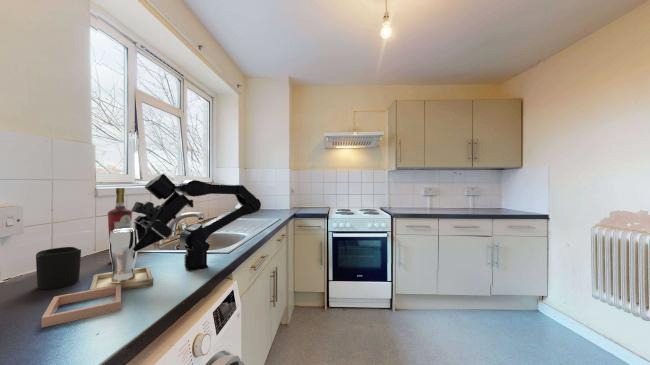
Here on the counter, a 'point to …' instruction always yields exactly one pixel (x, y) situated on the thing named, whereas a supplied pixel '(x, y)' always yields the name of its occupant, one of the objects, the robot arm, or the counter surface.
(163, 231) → the robot arm
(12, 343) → the counter surface
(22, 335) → the counter surface
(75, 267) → the pen holder
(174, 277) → the counter surface
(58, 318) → the brown square frame
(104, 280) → the tray
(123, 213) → the red and white bottle
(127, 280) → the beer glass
